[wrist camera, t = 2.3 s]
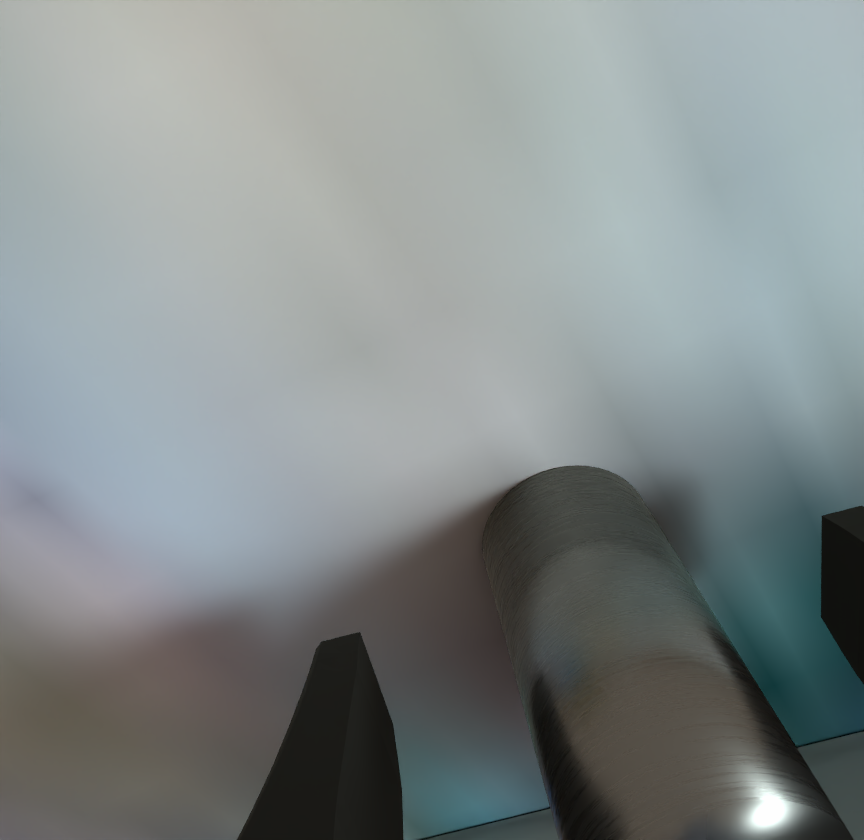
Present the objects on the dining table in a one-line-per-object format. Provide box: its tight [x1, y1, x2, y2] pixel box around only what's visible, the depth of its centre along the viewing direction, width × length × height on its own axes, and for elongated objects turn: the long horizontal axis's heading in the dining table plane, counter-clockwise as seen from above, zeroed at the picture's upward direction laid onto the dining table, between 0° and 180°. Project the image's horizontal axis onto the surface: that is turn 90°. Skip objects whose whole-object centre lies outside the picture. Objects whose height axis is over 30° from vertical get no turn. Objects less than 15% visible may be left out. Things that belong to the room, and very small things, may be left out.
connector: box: [482, 466, 854, 840], centre depth 11 cm, size 3×3×6 cm
